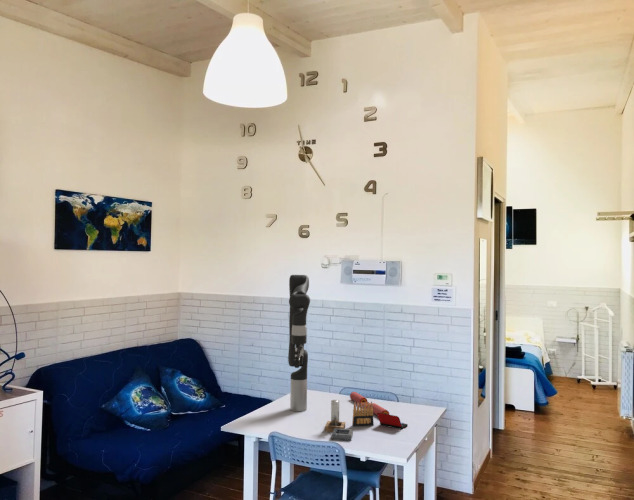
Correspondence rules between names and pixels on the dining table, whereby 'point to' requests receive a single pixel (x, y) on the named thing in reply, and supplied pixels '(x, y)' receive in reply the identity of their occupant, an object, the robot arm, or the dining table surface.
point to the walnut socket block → (330, 428)
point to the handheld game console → (391, 421)
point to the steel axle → (334, 412)
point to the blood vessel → (359, 398)
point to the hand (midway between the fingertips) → (298, 366)
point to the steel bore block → (342, 434)
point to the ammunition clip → (363, 415)
